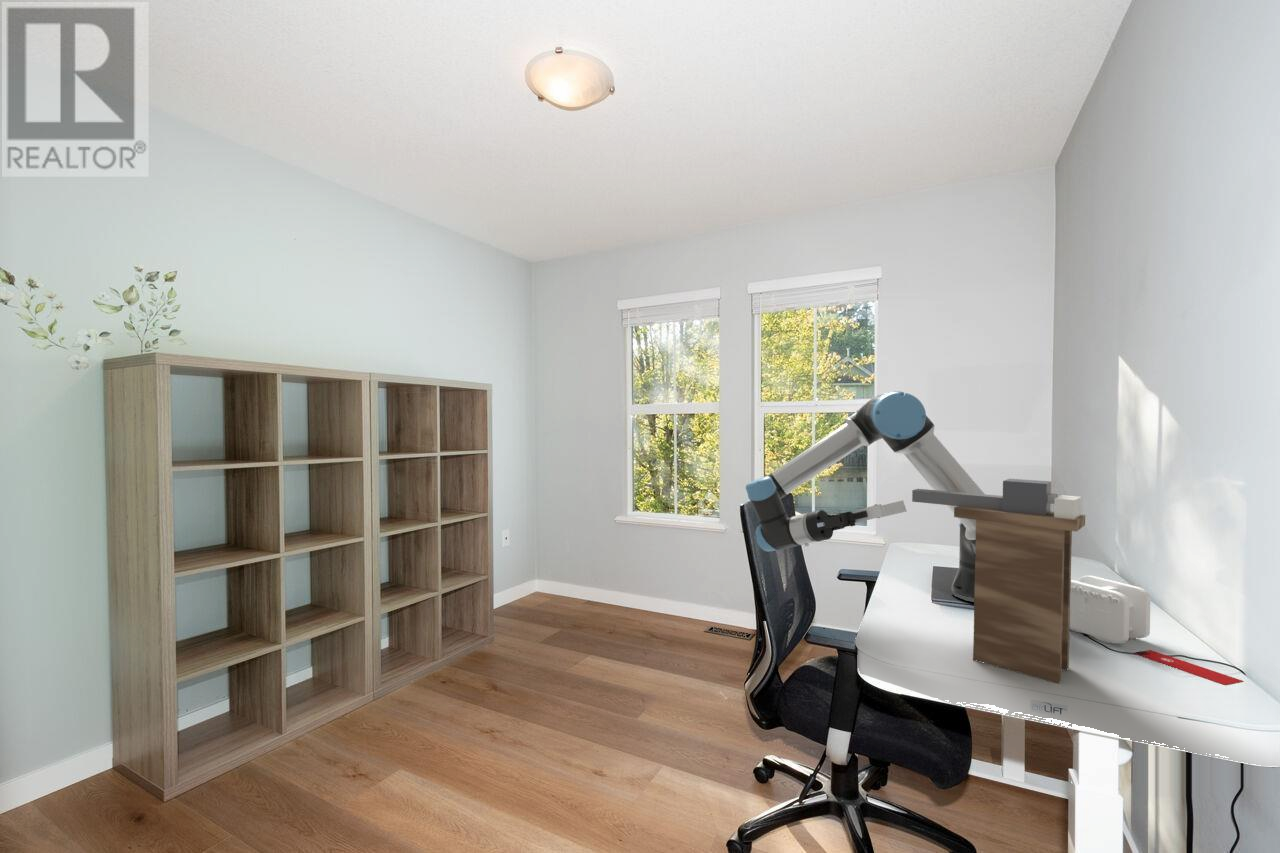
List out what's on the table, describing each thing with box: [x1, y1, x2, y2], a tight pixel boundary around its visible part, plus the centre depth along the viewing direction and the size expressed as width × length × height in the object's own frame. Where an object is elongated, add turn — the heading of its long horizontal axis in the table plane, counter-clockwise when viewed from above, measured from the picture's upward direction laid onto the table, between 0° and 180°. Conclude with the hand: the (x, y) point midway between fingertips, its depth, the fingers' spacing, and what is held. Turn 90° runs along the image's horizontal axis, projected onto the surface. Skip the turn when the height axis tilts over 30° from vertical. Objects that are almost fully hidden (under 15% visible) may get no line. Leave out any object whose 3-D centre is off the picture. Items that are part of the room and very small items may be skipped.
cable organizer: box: [1070, 575, 1152, 644], centre depth 129 cm, size 15×11×12 cm
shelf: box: [953, 506, 1086, 684], centre depth 113 cm, size 10×20×30 cm, turn 45°
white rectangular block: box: [1053, 494, 1083, 519], centre depth 107 cm, size 8×3×4 cm, turn 135°
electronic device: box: [1133, 649, 1244, 686], centre depth 112 cm, size 6×1×15 cm
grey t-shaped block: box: [911, 478, 1059, 516], centre depth 117 cm, size 7×25×6 cm, turn 48°
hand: (893, 507), depth 131 cm, fingers open, 13 cm apart
